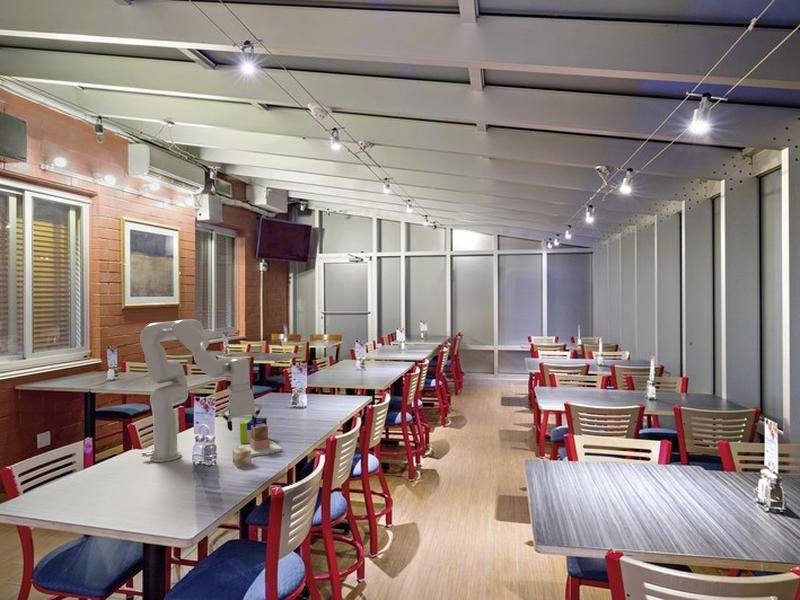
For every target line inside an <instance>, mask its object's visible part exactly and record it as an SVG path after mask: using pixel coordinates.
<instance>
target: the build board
mask: <svg viewBox="0 0 800 600" xmlns="http://www.w3.org/2000/svg"><path fill="white" fill-rule="evenodd" d="M244 447H247V448H249V449H250V450H251V458H252V457H253V458H254V457H258V456H259V455H260V456H264V454H265V455H270V454H269V453H271V454H275V453H274V452H276V453H280V451H281V452H283V447H281V446H279V445H278V444H277V443H275V442H274V441H273V440H270V438H269V437H268V439H266V440H260V441H254V440H253V439H251V438H250V444H241V445H237V449H239V448H244ZM260 456H259V457H260Z"/></svg>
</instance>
